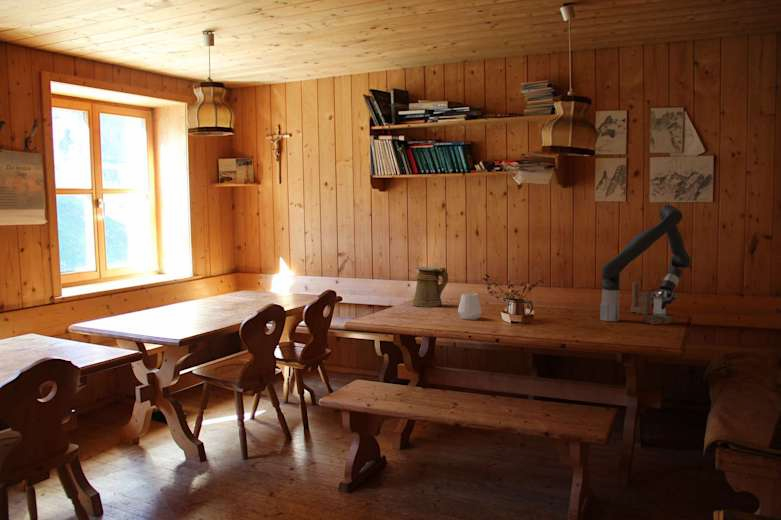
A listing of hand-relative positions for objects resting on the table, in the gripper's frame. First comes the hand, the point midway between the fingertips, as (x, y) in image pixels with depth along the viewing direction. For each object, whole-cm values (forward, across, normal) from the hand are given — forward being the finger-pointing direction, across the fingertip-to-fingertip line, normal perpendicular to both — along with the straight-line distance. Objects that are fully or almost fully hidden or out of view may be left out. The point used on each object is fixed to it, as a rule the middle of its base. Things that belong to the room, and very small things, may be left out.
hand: (657, 307), depth 366 cm
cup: (+51, +78, +40) cm, 102 cm away
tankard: (+39, +130, +28) cm, 138 cm away
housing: (+2, 0, -4) cm, 5 cm away
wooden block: (-11, +24, -23) cm, 35 cm away
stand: (+5, 0, -7) cm, 9 cm away
